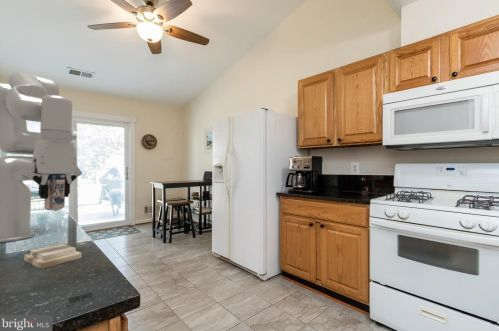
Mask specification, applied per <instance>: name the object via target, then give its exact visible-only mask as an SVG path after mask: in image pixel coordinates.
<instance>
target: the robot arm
mask: <svg viewBox="0 0 499 331" xmlns="http://www.w3.org/2000/svg"><path fill="white" fill-rule="evenodd" d="M7 82H8V83H7ZM7 82H0V151H1V152H3V153H4V154H5V153H6V154H11V155H6V156H2V157H0V243H6V242H15V241H22V240H26V239H29V238H33V237H34V236H35V235H36V232H35V231H34V230H31V210H32V206H31V205H32V200H31V199H32V191H31V189H30V188H29V187H28V186H27V184H25V183H24V182H25V181H26V182H27V181H33V182H35V183H36V184H37V185H38V195H39V197H40V199H44V200H45V199H47V198H48V185H46V182H47V179H48V176H49V175H51V174H53V173H56V172H62V173H64V174H65V198H68V197H69V195H70V193H71V184H72V183H73V182H74V181H75V180H76V179H77V178H78V177H80V176H82V175H83V172H82V171H81V169H80V168H79V167H78V166H77V155H76V149H75V148H76V147H75V144H74V142H73V140H74V141H76V140H77V136H76V135H73V133H72V130H73V128H72V127H73V126H72V125H73V102H72V101H71V99H69V98H67V97H65V96H62V95H61V96H60V88H59V84H58V83H57V82H56V81H55V80H53V79H52V78H47V77H44V76H40V75H36V74H32V73H28V72H21V71H20V72H19V71H18V72H14V73H11V75H10V76H9V77H8V79H7ZM28 121H29V122H36V123H40V128H39V130H40V131H39V132H36V131H29V129H28V126H27V124H28V123H27V122H28ZM17 155H18V156H17ZM24 155H28V156H24ZM29 155H30V156H29Z"/></svg>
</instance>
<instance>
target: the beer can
mask: <svg viewBox="0 0 499 331" xmlns="http://www.w3.org/2000/svg"><path fill="white" fill-rule="evenodd" d="M46 185H48V198H47V199H44V206H43V207H44V208H43V209H44V210H46V211H60V210H63V209H64V208H65V203H66V202H65V201H66V197H65V174H64V173H62V172H56V173H53V174H51V175H49V176H48V179H47V182H46Z"/></svg>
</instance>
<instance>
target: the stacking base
mask: <svg viewBox="0 0 499 331" xmlns="http://www.w3.org/2000/svg"><path fill="white" fill-rule="evenodd" d="M82 255H83V254H82V252H80V251H78V250H77V249H76V247H74V246H70V245H68V244H65V243H57V244H56V243H55V244H52V245H47V246H44V247H43V246H42V247H38V248H34V249H30V253H27V254H24V255H23V261H25V262H27V263H29V264H31V266H32V265H33V266H34V267H36V268H39V269H41V270H43V269H47V268H51V267H53V266H58V265H62V264H64V263H68V262H72V261H76V260H79V259H81V258H83V257H82Z"/></svg>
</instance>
